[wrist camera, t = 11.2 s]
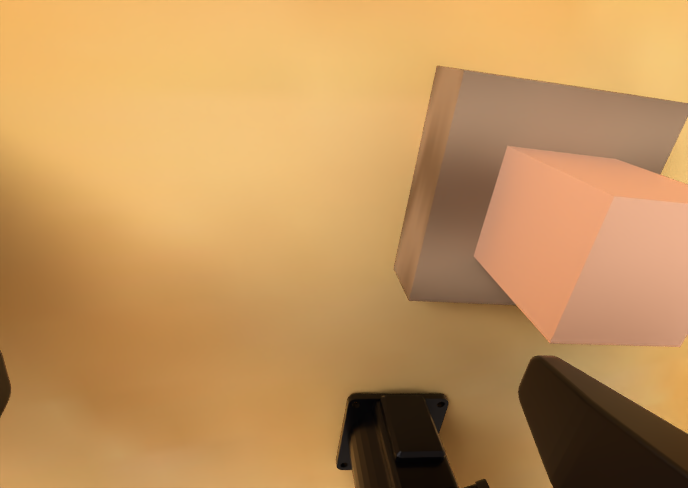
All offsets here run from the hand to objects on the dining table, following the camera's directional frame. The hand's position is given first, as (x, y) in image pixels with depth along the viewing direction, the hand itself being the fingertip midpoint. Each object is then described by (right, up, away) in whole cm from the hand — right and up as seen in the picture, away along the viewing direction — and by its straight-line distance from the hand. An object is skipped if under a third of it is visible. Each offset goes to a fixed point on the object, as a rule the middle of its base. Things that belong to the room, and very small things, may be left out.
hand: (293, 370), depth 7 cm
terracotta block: (+10, +4, +11) cm, 15 cm away
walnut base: (+9, +5, +13) cm, 17 cm away
